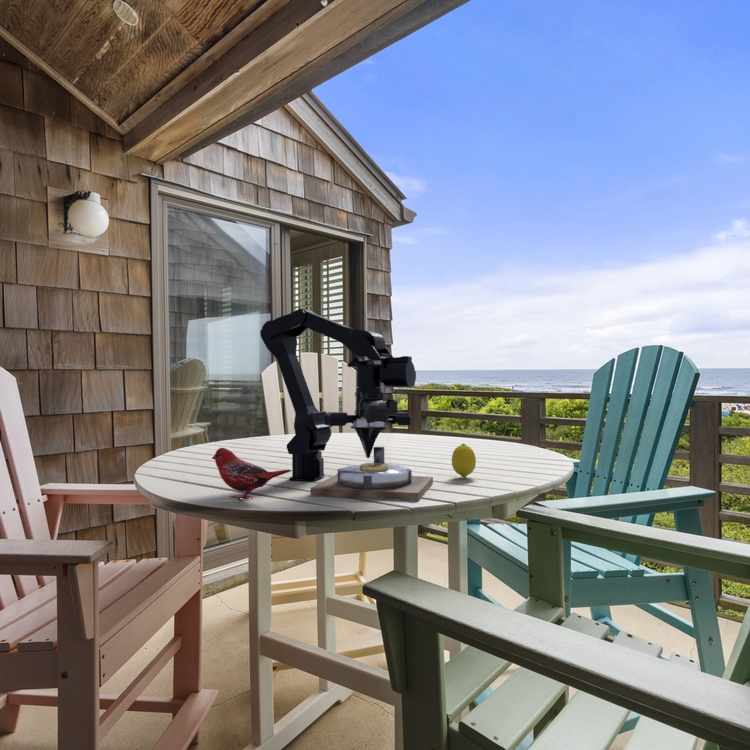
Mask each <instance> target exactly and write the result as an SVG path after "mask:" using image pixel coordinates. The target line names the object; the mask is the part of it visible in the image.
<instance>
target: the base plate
mask: <svg viewBox="0 0 750 750" xmlns="http://www.w3.org/2000/svg"><path fill="white" fill-rule="evenodd" d="M433 484H434V477H433V476H427V475H426V476H424V475H422V476H421V475H412V482H411V483H409V484H407V485H404V486H401V487H395V488H386V489H358V488H350V487H346V486H342V485H340V484H339V482H338V473H337V474H335V475H333V476H331V477H329V478H327V479H325V480H323V481H320V482H319V483H317V484H316V485H314V486H312V487H310V488H309V489H310V492H309V493H310V496H311V495H313V496H314V497H332V498H333V497H335V498H349V497H351V498H352V499H369V498H379V499H378V500H389V499H400V500H399V501H409V500H412V502H419V501H420V500H421V499H422V498H423V497H424V495H425V494H426V493H427V491H429V489H430V488H431V487H432V485H433ZM429 487H430V488H429ZM425 492H426V493H425ZM424 493H425V494H424ZM313 496H312V497H313ZM420 498H421V499H420Z"/></svg>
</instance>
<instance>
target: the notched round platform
mask: <svg viewBox="0 0 750 750" xmlns="http://www.w3.org/2000/svg"><path fill="white" fill-rule="evenodd" d="M385 460H386V459H385V446H373V462H366V463H361V464H355V465H350V466H345V467H344V466H343V467H341V468H338V469H337V474H338V482H339V484H340V485H342V486H346V487H350V488H358V489H386V488H395V487H401V486H404V485H407V484H409V483H411V482H412V476H413V474H412V473H413V471H412V469H410V468H409V467H407V466H405V465H400V464H399V465H398V464H390V463H389V464H388V463H386V462H385Z"/></svg>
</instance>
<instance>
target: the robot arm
mask: <svg viewBox="0 0 750 750" xmlns="http://www.w3.org/2000/svg"><path fill="white" fill-rule="evenodd" d="M261 327H262V328H261V330H260V333H259V334H260V338H261V340H262V342H263V344H264V346H265V347H266V349H267V350H268V351H269V353H271V354H272V355H273V357H275V359H276V362H277V365H278V367H279V369H280V372H281V375H282V379H283V381H284V384H285V387H286V390H287V392H288V395H289V399H290V401H291V405H292V407H293V410H294V413H295V414H294V415H295V416H294V422H293V429H294V434H295V435H293V436H292V438H291V439H290V440H289V441H288V443H287V444H286V449H287V453H288V454H289V455H291V456H292V457H291V458H292V459H291V461H292V463H291V465H292V469H291V473H292V474H291V475H292V476H290V477H288V479H289V480H291V481H311V482H312V481H317V480H319V479H321V478H323V477H325V473H324V471H325V469H324V461H325V460H324V458H323V455H322V454H323V453H322V452H323V451H325V449H326V445H327V443H328V442H329V441H330V439H331V436H332V430H331V428H332V427H345V426H346V425H347V424H352V425H351V426H350V429H353V430H355V432H356V434H357V436H358V438H359V440H360V443H361V445H362V448H363V451H364V454H365V457H366V459H370V457H371V454H372V451H373V450H374V447H375V442H376V440H377V439H378V436H379V434H380V433H381V432H382V431H383V430H386V429H387V427H386V426H385V423H388V424H390V425H397V426H412V421H413V419H412V418H413V417H412V415H411V414H410V412H407V411H406V412H403V411H398V410H399V409H398V408H399V407H398V405H399V404H398V400H397V399H395V398H393V399H392V398H390V399H389V398H388V399H387V400H386V401H385V400H384V392H383V391H382V387H383V386H385V387H386V388H388V389H389V388H390V389H391V388H392V389H393V388H397V389H400V388H402V389H403V388H404V389H406V388H407V389H408V388H411V389H412V388H413V387H414V385H415V384H416V380H417V379H416V378H417V372H416V370H415V369H416V368H415V365H414V363H413V361H412V358H413V357H412V356H410V355H409V356H408V355H403V356H397V357H396V356H395V357H394V356H393V355H392V353H391V352H390V350H389V348H388V347H387V346H386V342H385V339H384V336H383V335H382V334H380V333H379V332H374V331H368V330H364V329H357V328H352V327H349V326H348V325H345V324H342V323H340V322H337V321H335V320H333V319H331V318H330V319H329V318H327V317H325V316H322V315H320V314H318V313H316V312H314V311H312V310H309V309H305V308H297V309H296V310H294V311H293V312H290V313H288V314H285V315H282V316H280V317H276V318H274V319H273V320H272V319H271V320H267V321H266V322H265V323H263V325H262V326H261ZM307 329H309V330H311V331H314V332H316V333H319V334H321V335H323V336H326V337H328V338H330V339H333V340H335V341H338V342H339V343H341V344H343V347H345V348H347V349H348V350H350V352H352V353H353V354H355V355H357V356H354V357H353V358H352V360H351V361H349V362H348V363H347V364H346V365H347V367H348V368H354V369H355V370H356V373H355V374H356V375H355V381H356V382H355V392H354V397H355V410H354V414H348V413H347V412H346V411H345V412H344V411H329V412H328V411H325V410H323V411H322V410H321V411H319V409H317V407H316V405H315V404H314V403H315V402H314V401H313V398H312V395H311V392H310V389H309V386H308V384H307V380H306V378H305V376H304V373H303V369H302V366H301V363H300V361H299V359H298V355H297V345H298V339H297V338H298V337H300V336H302V335H303V334H304V333H305V332H306V331H307ZM360 357H363V358H367V359H362V358H360ZM375 362H380V363H379V364H378V363H375ZM382 384H383V385H382ZM363 416H364V417H363ZM368 424H369V425H368Z"/></svg>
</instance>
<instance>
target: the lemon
mask: <svg viewBox="0 0 750 750" xmlns="http://www.w3.org/2000/svg"><path fill="white" fill-rule="evenodd" d="M476 458H477V457H476V455H475V451H474V450H473V449H472V448H471V447H470V446H469V445H467V444H465V443H461V445H458V446H457V447H455V448H454V450H453V452H452V455H451V466H452V469H453V471H454V472H455V473H456V474H458V475H459V476H461V477H462V478H463V479H466V477H468V475H471V474H472V473H473V472H474V471H475V469H476V466H477V464H476V463H477V461H476V460H477V459H476Z"/></svg>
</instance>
